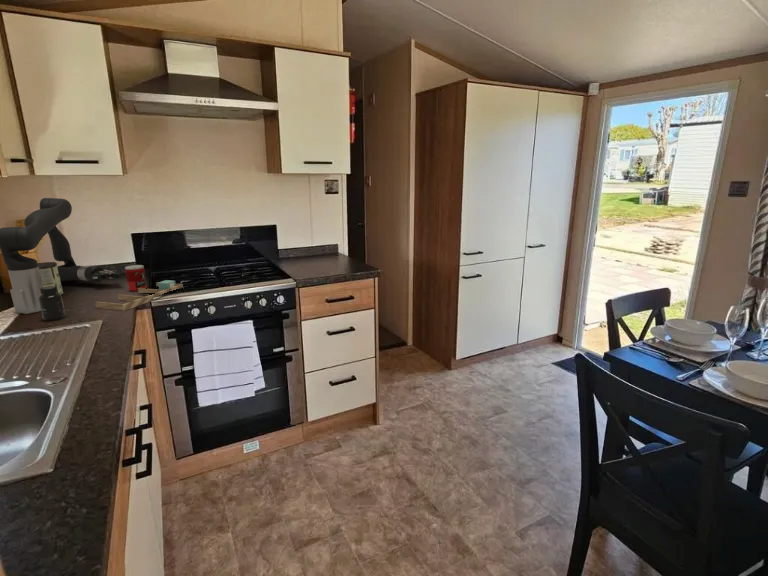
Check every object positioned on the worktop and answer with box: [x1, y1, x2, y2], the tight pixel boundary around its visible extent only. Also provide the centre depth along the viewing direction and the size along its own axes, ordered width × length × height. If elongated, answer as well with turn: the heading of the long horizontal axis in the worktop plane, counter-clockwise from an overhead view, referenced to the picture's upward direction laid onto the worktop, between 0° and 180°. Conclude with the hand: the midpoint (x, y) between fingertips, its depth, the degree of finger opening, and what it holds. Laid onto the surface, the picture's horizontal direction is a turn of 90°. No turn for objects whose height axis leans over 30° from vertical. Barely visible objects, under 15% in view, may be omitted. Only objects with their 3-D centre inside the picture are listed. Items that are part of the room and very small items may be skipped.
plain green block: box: [158, 279, 177, 290], centre depth 191 cm, size 5×5×5 cm
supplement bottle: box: [39, 286, 66, 322], centre depth 157 cm, size 7×7×12 cm
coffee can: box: [37, 261, 64, 295], centre depth 187 cm, size 10×10×14 cm
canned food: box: [124, 264, 148, 292], centre depth 195 cm, size 8×8×11 cm
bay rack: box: [94, 281, 184, 312], centre depth 183 cm, size 32×15×2 cm, turn 164°
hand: (119, 275), depth 197 cm, fingers closed
